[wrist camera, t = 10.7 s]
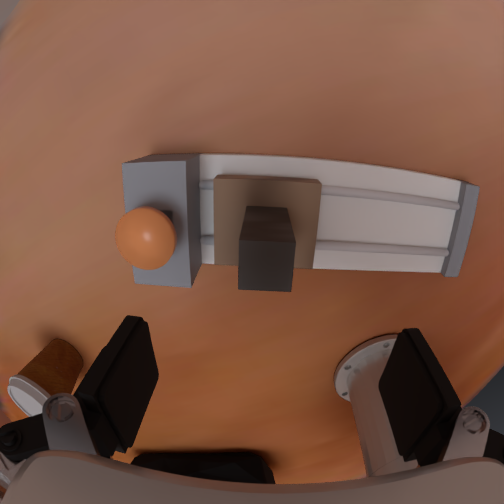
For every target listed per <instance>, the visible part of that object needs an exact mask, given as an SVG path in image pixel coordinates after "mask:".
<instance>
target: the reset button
mask: <svg viewBox="0 0 504 504" xmlns="http://www.w3.org/2000/svg"><path fill="white" fill-rule="evenodd" d="M115 239H116V244H117V247H118V249H119V251H120V253H121V255H122V256H123V257H124V258H125V260H126V261H128V262H129V263H130V264H131V265H133V266H135V267H137V268H140V269H144V270H154V269H158V268H160V267H162V266H163V265H165V264H166V263H167V262H168V261H169V259H170V258H171V256H172V255H173V253H174V251H175V249H176V245H177V234H176V230H175V227H174V225H173V223H172V222H171V220H170V219H169V218H168V217H167V216H166V215H165V214H164V213H163V212H161V211H160V210H158V209H156V208H153V207H149V206H141V207H137V208H134V209H132V210H131V211H129V212H128V213H126V214H125V215H124V216H123V217H122V218H121V219H120V221H119V222H118V224H117V227H116V232H115Z"/></svg>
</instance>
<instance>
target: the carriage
mask: <svg viewBox="0 0 504 504" xmlns="http://www.w3.org/2000/svg"><path fill="white" fill-rule="evenodd" d="M321 190H322V183H321V182H320V181H319V180H318V179H308V178H293V177H276V176H255V175H217V176H216V177H215V178H214V179H213V209H214V264H215V265H235V266H238V289H240V290H260V291H284V292H291V287H292V278H293V269H294V268H302V269H313V262H314V254H315V246H316V238H317V229H318V220H319V211H320V201H321Z"/></svg>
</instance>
